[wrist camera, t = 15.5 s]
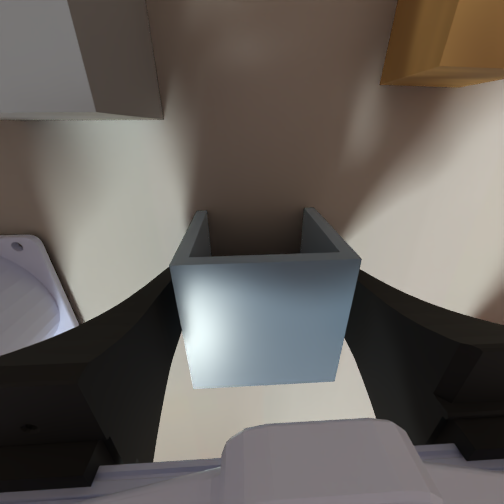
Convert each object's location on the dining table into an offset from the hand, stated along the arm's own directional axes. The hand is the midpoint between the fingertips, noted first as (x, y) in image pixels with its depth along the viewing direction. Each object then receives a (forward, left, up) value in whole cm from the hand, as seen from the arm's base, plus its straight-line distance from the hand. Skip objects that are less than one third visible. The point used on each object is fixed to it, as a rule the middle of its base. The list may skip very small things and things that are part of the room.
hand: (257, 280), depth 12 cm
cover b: (0, 0, -2) cm, 2 cm away
